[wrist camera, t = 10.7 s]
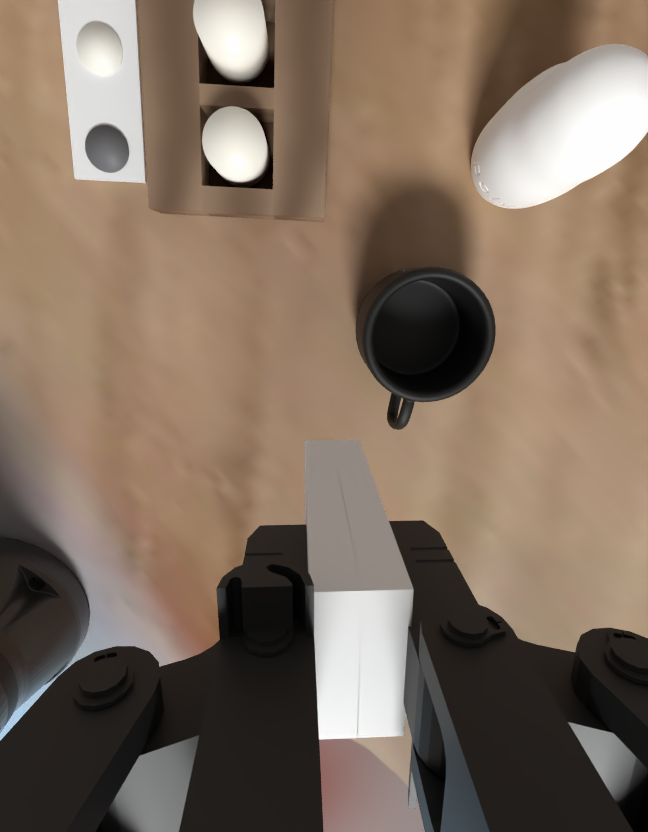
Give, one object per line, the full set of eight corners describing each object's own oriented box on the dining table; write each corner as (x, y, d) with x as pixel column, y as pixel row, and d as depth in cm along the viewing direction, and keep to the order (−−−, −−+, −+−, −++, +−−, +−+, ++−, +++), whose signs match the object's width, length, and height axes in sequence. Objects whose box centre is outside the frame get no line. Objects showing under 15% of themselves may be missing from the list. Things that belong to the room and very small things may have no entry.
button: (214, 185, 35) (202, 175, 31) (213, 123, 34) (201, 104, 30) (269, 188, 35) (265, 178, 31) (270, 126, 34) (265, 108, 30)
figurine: (583, 162, 36) (714, 110, 24) (500, 233, 37) (587, 216, 26) (531, 77, 34) (644, -21, 23) (445, 155, 35) (512, 100, 24)
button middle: (207, 81, 32) (194, 55, 28) (206, 8, 30) (191, -30, 27) (268, 85, 32) (263, 59, 28) (269, 12, 31) (264, -25, 27)
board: (161, 213, 36) (149, 208, 33) (145, -132, 30) (128, -175, 27) (323, 221, 36) (324, 217, 34) (337, -116, 31) (339, -156, 28)
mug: (368, 256, 37) (381, 252, 30) (478, 282, 38) (515, 284, 31) (333, 402, 41) (339, 429, 34) (436, 423, 41) (461, 453, 35)
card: (76, 179, 35) (73, 177, 35) (50, -99, 30) (46, -105, 30) (146, 183, 35) (144, 181, 35) (131, -93, 31) (128, -99, 30)
